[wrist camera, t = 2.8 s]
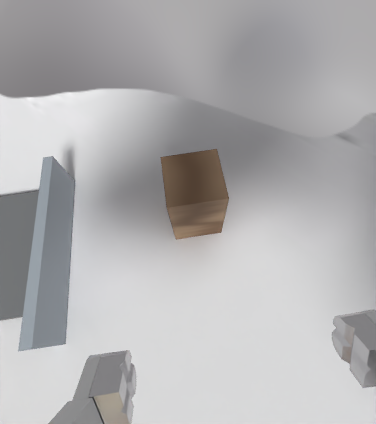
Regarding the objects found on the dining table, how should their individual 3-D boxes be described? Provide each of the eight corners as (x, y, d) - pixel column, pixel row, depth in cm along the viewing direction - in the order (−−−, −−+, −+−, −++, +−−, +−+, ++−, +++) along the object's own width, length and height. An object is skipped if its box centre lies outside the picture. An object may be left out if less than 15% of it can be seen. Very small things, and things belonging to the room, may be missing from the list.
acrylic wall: (74, 181, 30) (52, 156, 26) (65, 343, 23) (31, 349, 18) (66, 182, 30) (43, 157, 26) (54, 345, 23) (18, 351, 18)
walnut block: (212, 193, 29) (216, 148, 21) (221, 232, 27) (228, 198, 19) (170, 199, 29) (160, 157, 21) (176, 239, 27) (166, 207, 19)
